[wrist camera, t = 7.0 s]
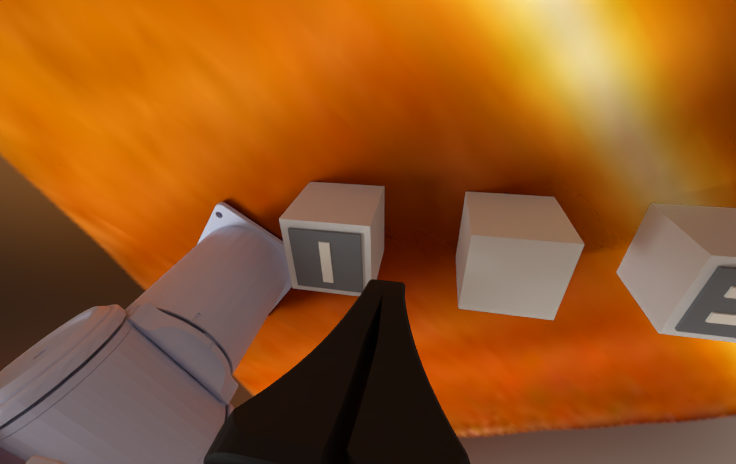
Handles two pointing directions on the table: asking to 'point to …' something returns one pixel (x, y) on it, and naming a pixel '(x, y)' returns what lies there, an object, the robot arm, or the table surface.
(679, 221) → the marked block 2
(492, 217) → the plain block
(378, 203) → the marked block 1
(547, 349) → the table surface
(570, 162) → the table surface
